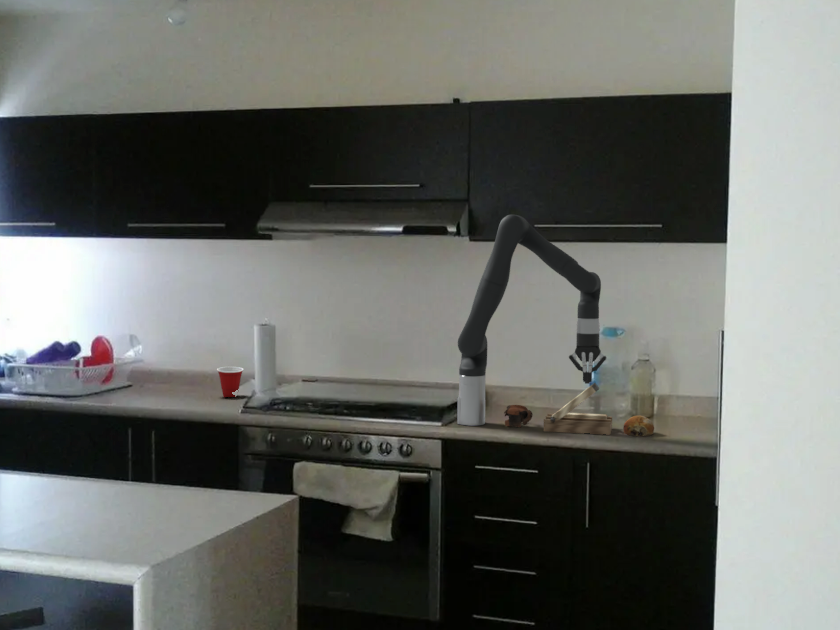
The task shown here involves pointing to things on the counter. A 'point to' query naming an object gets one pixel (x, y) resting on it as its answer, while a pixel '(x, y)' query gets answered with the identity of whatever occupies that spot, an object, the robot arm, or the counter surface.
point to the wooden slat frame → (579, 423)
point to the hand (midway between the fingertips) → (587, 383)
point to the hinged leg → (575, 402)
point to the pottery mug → (517, 415)
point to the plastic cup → (229, 379)
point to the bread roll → (638, 426)
